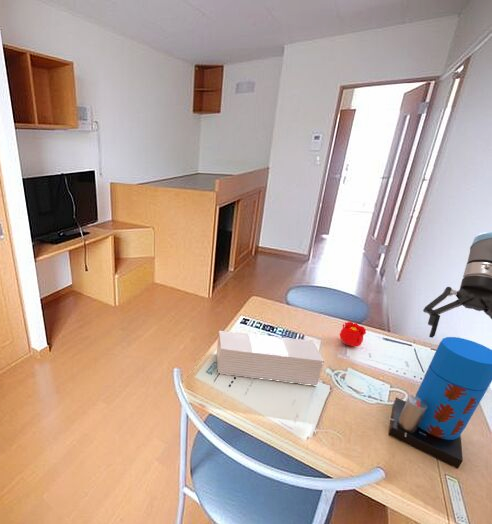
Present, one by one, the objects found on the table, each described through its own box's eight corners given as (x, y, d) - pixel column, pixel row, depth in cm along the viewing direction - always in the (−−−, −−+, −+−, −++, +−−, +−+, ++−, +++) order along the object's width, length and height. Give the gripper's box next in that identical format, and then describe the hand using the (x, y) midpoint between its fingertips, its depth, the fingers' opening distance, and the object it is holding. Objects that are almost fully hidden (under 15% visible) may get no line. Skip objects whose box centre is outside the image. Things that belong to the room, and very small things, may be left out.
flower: (362, 343, 122) (368, 326, 119) (358, 352, 117) (364, 335, 114) (340, 335, 127) (345, 319, 124) (335, 343, 122) (340, 327, 119)
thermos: (413, 400, 92) (445, 331, 82) (462, 424, 84) (504, 351, 74) (404, 420, 85) (437, 347, 76) (456, 448, 78) (500, 371, 68)
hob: (455, 431, 85) (460, 423, 84) (458, 472, 75) (463, 463, 74) (388, 402, 95) (391, 394, 93) (382, 435, 84) (386, 427, 83)
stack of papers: (217, 373, 106) (220, 348, 102) (216, 354, 116) (219, 330, 111) (316, 387, 100) (324, 360, 96) (306, 365, 110) (313, 340, 106)
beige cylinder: (397, 417, 86) (408, 392, 82) (415, 425, 84) (427, 399, 80) (397, 427, 83) (408, 402, 80) (416, 435, 81) (429, 409, 77)
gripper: (428, 264, 95) (409, 325, 90) (554, 288, 80) (539, 363, 75) (422, 274, 101) (405, 332, 96) (539, 298, 85) (525, 368, 81)
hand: (464, 345), depth 86 cm, fingers open, 13 cm apart
